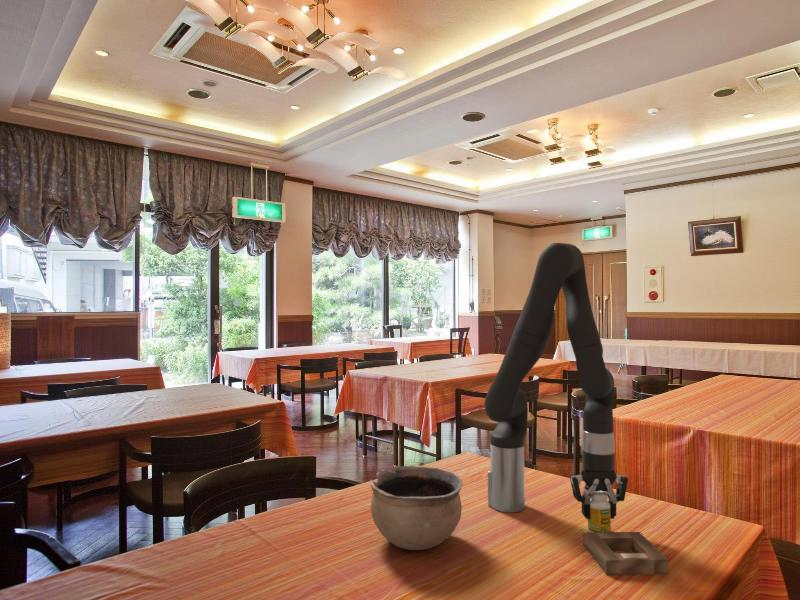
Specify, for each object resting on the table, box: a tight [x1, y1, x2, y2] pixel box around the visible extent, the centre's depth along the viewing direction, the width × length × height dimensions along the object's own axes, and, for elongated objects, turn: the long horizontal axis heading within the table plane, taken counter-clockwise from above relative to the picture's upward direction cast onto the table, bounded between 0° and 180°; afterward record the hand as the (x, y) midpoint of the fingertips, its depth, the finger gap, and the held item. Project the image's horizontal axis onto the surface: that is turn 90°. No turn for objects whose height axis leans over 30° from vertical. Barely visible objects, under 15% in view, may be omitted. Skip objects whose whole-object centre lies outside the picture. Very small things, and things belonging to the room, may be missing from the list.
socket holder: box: [582, 531, 670, 576], centre depth 113 cm, size 13×13×3 cm
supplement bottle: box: [587, 491, 612, 532], centre depth 127 cm, size 5×5×10 cm
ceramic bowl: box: [370, 465, 463, 551], centre depth 122 cm, size 22×22×15 cm
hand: (599, 517), depth 127 cm, fingers closed on supplement bottle, 5 cm apart
